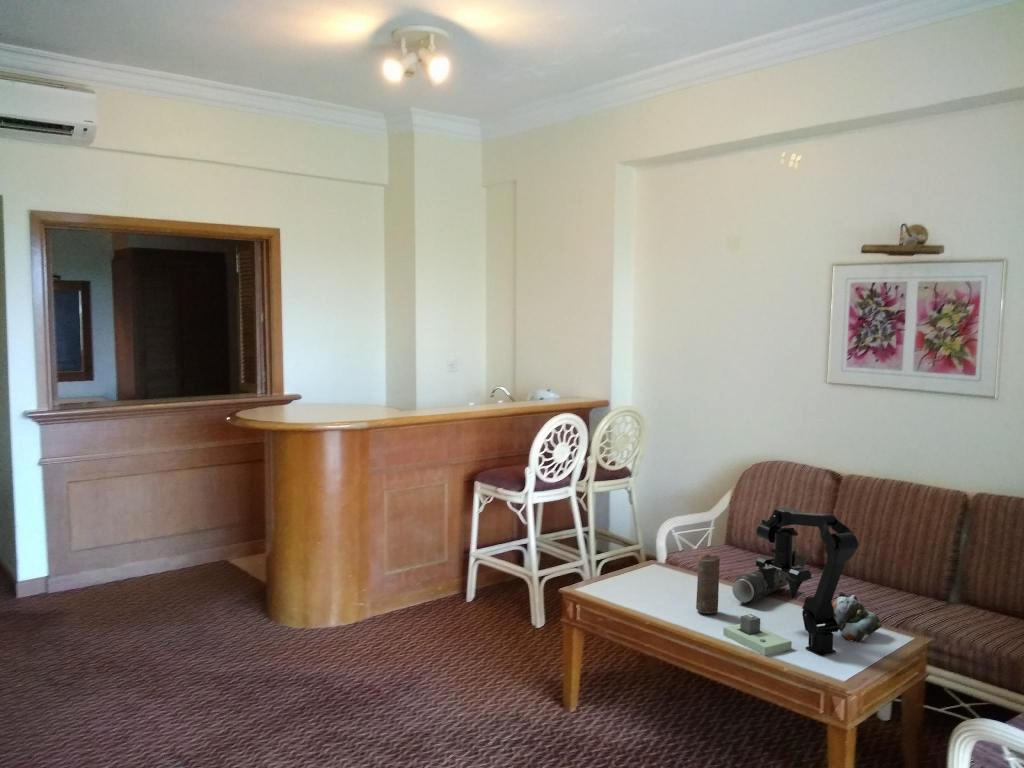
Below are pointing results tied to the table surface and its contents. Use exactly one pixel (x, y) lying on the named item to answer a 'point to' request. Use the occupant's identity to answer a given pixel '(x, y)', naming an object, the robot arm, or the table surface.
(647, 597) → the table surface
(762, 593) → the muzzle brake
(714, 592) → the brown cylinder
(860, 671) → the table surface
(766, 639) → the socket box
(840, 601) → the lucky cat figurine
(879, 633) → the table surface
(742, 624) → the block
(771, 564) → the robot arm
